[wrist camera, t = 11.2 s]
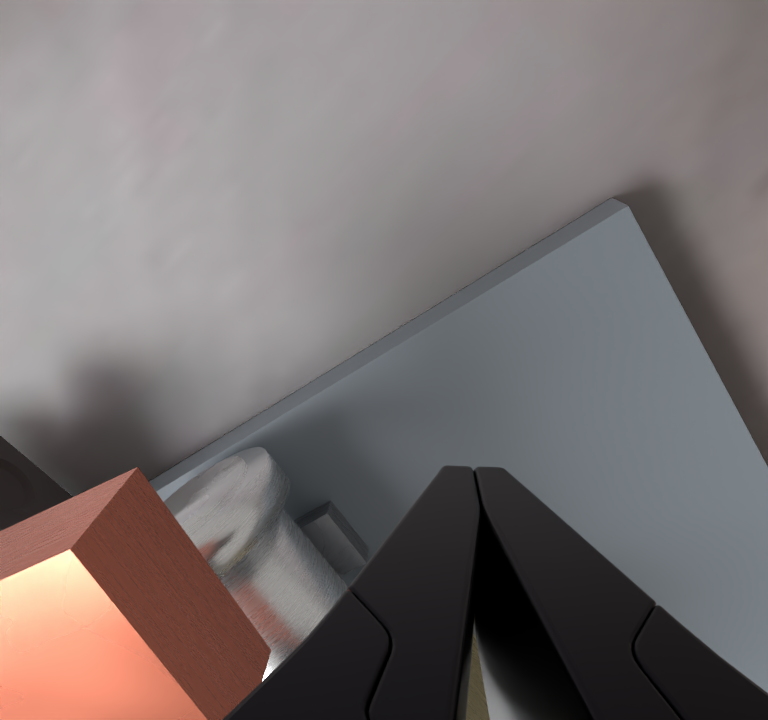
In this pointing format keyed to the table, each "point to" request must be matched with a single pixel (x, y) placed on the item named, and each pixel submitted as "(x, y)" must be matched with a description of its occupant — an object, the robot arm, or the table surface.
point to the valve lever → (118, 615)
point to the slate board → (549, 426)
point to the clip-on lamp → (24, 488)
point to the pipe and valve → (278, 553)
